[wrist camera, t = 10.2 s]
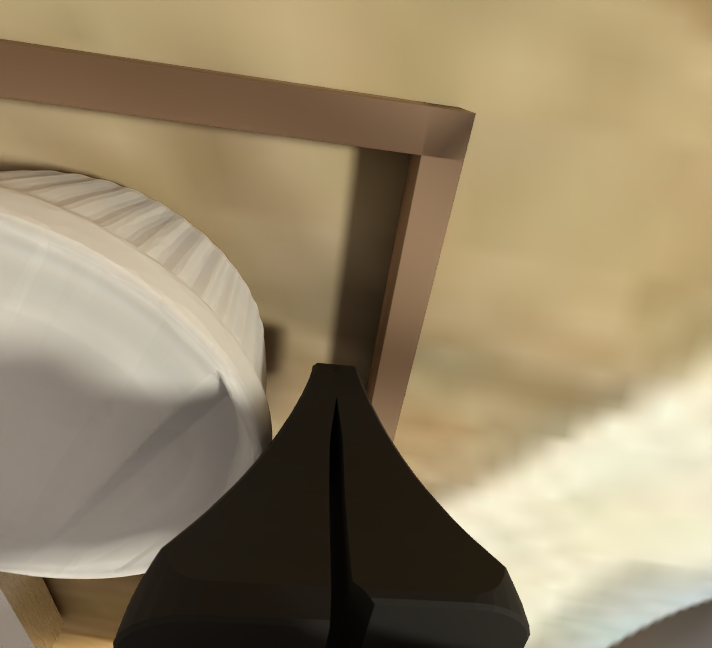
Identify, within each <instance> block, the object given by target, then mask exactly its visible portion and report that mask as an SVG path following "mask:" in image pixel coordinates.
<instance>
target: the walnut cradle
mask: <svg viewBox="0 0 712 648" xmlns="http://www.w3.org/2000/svg"><path fill="white" fill-rule="evenodd" d="M0 97H4V98H12V99H19V100H26V101H33V102H40V103H48V104H55V105H62V106H69V107H77V108H84V109H91V110H98V111H105V112H113V113H120V114H127V115H134V116H142V117H149V118H156V119H163V120H170V121H178V122H185V123H192V124H199V125H207V126H214V127H221V128H228V129H235V130H243V131H250V132H257V133H264V134H272V135H279V136H286V137H293V138H300V139H308V140H315V141H322V142H329V143H337V144H344V145H351V146H358V147H365V148H373V149H380V150H387V151H394V152H402V153H409V154H411V156H410V162H409V167H408V172H407V178H406V183H405V188H404V194H403V199H402V204H401V210H400V215H399V220H398V225H397V231H396V236H395V241H394V247H393V252H392V257H391V263H390V268H389V273H388V279H387V284H386V289H385V295H384V300H383V305H382V311H381V316H380V321H379V326H378V332H377V337H376V342H375V348H374V353H373V358H372V364H371V369H370V374H369V380H368V385H367V390H366V393H367V395H368V397H369V400H370V402H371V404H372V406H373V408H374V410H375V412H376V414H377V416H378V418H379V419H380V421H381V423H382V425H383V427H384V429H385V430H386V432H387V434H388V435H389V437H390V439H391V440H392V442H393V440H394V436H395V432H396V428H397V424H398V420H399V416H400V412H401V408H402V404H403V400H404V396H405V392H406V389H407V385H408V381H409V377H410V373H411V369H412V365H413V361H414V357H415V353H416V349H417V345H418V341H419V337H420V333H421V329H422V325H423V321H424V317H425V313H426V309H427V305H428V301H429V297H430V293H431V289H432V285H433V281H434V277H435V273H436V269H437V265H438V261H439V257H440V253H441V249H442V245H443V241H444V237H445V234H446V230H447V226H448V222H449V218H450V214H451V210H452V206H453V202H454V198H455V194H456V190H457V186H458V182H459V178H460V174H461V170H462V166H463V162H464V158H465V154H466V150H467V146H468V142H469V138H470V134H471V130H472V126H473V122H474V118H475V114H476V113H473V112H470V111H468V110H465V109H462V108H458V107H452V106H445V105H438V104H432V103H425V102H418V101H412V100H405V99H398V98H392V97H385V96H378V95H372V94H365V93H358V92H352V91H345V90H338V89H331V88H325V87H318V86H311V85H305V84H298V83H291V82H285V81H278V80H271V79H265V78H258V77H251V76H245V75H238V74H231V73H225V72H218V71H211V70H205V69H198V68H191V67H185V66H178V65H171V64H164V63H158V62H151V61H144V60H138V59H131V58H124V57H118V56H111V55H104V54H98V53H91V52H84V51H78V50H71V49H64V48H58V47H51V46H44V45H38V44H31V43H24V42H18V41H11V40H4V39H0Z"/></svg>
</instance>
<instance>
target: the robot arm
mask: <svg viewBox="0 0 712 648" xmlns="http://www.w3.org/2000/svg"><path fill="white" fill-rule="evenodd" d="M529 636H530V630H529V624H528V621H527V618H526V615H525V612H524V608H523V605H522V603H521V600H520V598H519V596H518V593H517V591H516V589H515V586H514V584H513V582H512V580H511V578H510V575H509V573H508V571H507V569H506V567H505V566H503V565H502V564H501V563H500V562H499V561H498V560H497V559H496V558H494V557H493V556H492V555H491V554H490V553H489V552H488V551H486V550H485V549H484V548H483V547H482V546H481V545H480V544H479V543H477V542H476V541H475V540H474V539H473V538H472V537H471V536H470V535H469V534H467V533H466V532H465V531H464V530H463V529H462V528H461V527H460V526H459V525H458V524H457V523H456V522H455V521H454V520H453V519H452V518H451V516H450V515H449V514H448V513H447V512H446V511H445V510H444V509H443V507H442V506H441V505H440V504H439V503H438V502H437V501H436V500H435V498H434V497H433V496H432V495H431V494H430V493H429V492H428V491H427V489H426V488H425V487H424V486H423V484H422V483H421V482H420V480H419V479H418V478H417V477H416V475H415V474H414V473H413V471H412V470H411V469H410V467H409V466H408V465H407V463H406V462H405V460H404V459H403V458H402V456H401V455H400V453H399V452H398V450H397V448H396V447H395V445H394V444H393V442H392V440H391V439H390V437H389V435H388V434H387V432H386V430H385V429H384V427H383V425H382V423H381V421H380V419H379V418H378V416H377V414H376V412H375V410H374V408H373V406H372V404H371V402H370V400H369V397H368V395H367V393H366V390H365V388H364V385H363V383H362V380H361V377H360V374H359V371H358V369H357V368H356V367H354V366H343V365H333V364H323V363H316V364H315V365H313V368H312V372H311V375H310V378H309V380H308V383H307V385H306V387H305V389H304V391H303V393H302V395H301V397H300V399H299V400H298V402H297V404H296V406H295V407H294V409H293V411H292V413H291V414H290V416H289V417H288V419H287V420H286V422H285V423H284V425H283V426H282V428H281V429H280V431H279V432H278V434H277V435H276V436H275V438H274V439H273V440H272V442H271V443H270V444H269V446H268V447H267V448H266V449H265V451H264V452H263V453H262V454H261V455H260V457H259V458H258V459H257V460H256V461H255V463H254V464H253V465H252V466H251V467H250V468H249V469H248V470H247V471H246V473H245V474H244V475H243V476H242V477H241V478H240V479H239V480H238V481H237V482H236V483H235V484H234V485H233V486H232V487H231V488H230V489H229V490H228V491H227V492H226V493H225V494H224V495H223V496H222V497H221V498H220V499H219V500H218V501H217V502H215V503H214V504H213V505H212V506H211V507H210V508H209V509H208V510H207V511H206V512H205V513H204V514H202V515H201V516H200V517H199V518H198V519H197V520H196V521H194V522H193V523H192V524H191V525H189V526H188V527H187V528H186V529H184V530H183V531H182V532H181V533H179V534H178V535H177V536H176V537H175V538H173V539H172V540H171V541H170V542H168V543H167V544H166V545H165V546H163V547H162V548H161V549H160V551H159V552H158V554H157V555H156V557H155V558H154V560H153V561H152V563H151V565H150V566H149V568H148V569H147V571H146V573H145V574H144V576H143V578H142V579H141V581H140V583H139V585H138V587H137V589H136V591H135V593H134V594H133V596H132V598H131V600H130V602H129V605H128V607H127V609H126V612H125V614H124V617H123V619H122V622H121V624H120V627H119V629H118V632H117V635H116V637H115V640H114V642H113V646H114V648H524V646H525V644H526V642H527V640H528V638H529Z"/></svg>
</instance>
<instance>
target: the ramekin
mask: <svg viewBox="0 0 712 648" xmlns="http://www.w3.org/2000/svg"><path fill="white" fill-rule="evenodd" d="M271 442H272V425H271V416H270V411H269V406H268V402H267V399H266V349H265V341H264V328H263V323H262V321H261V319H260V317H259V311H258V307H257V304H256V302H255V301H254V299H253V298H252V296H251V293H250V290H249V288H248V286H247V285H246V283H245V282H244V281H243V279H242V278H241V276H240V274H239V273H238V271H237V270H236V268H235V267H234V266H233V265H232V264H231V263H230V262H229V260H228V259H227V257H226V256H225V255H224V253H223V252H222V251H221V250H220V249H219V248H218V247H216V246H215V245H214V244H213V243H212V242H211V241H210V240H209V239H208V237H207V236H206V235H205V234H203V233H202V232H201V231H199V230H198V229H196V228H195V227H193V226H192V225H191V224H190V223H189V222H188V221H187V220H186V219H184V218H183V217H182V216H180V215H178V214H176V213H174V212H173V211H171V210H170V209H169V208H168V207H166V206H165V205H164V204H162V203H160V202H158V201H156V200H153V199H150V198H148V197H147V196H145V195H143V194H142V193H140V192H139V191H137V190H135V189H132V188H127V187H122V186H120V185H118V184H116V183H113V182H111V181H108V180H104V179H95V178H91V177H88V176H85V175H82V174H75V173H62V172H57V171H53V170H40V171H31V170H17V171H0V571H1V572H7V573H14V574H22V575H28V576H37V577H48V578H66V579H100V578H115V577H125V576H131V575H138V574H143V573H146V571H147V569H148V568H149V566H150V565H151V563H152V561H153V560H154V558H155V557H156V555H157V554H158V552H159V551H160V549H161V548H162V547H163V546H165V545H166V544H167V543H168V542H170V541H171V540H172V539H173V538H175V537H176V536H177V535H178V534H179V533H181V532H182V531H183V530H184V529H186V528H187V527H188V526H189V525H191V524H192V523H193V522H194V521H196V520H197V519H198V518H199V517H200V516H201V515H202V514H204V513H205V512H206V511H207V510H208V509H209V508H210V507H211V506H212V505H213V504H214V503H215V502H217V501H218V500H219V499H220V498H221V497H222V496H223V495H224V494H225V493H226V492H227V491H228V490H229V489H230V488H231V487H232V486H233V485H234V484H235V483H236V482H237V481H238V480H239V479H240V478H241V477H242V476H243V475H244V474H245V473H246V471H247V470H248V469H249V468H250V467H251V466H252V465H253V464H254V463H255V461H256V460H257V459H258V458H259V457H260V455H261V454H262V453H263V452H264V451H265V449H266V448H267V447H268V446H269V444H270V443H271Z"/></svg>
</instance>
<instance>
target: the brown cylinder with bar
mask: <svg viewBox="0 0 712 648" xmlns="http://www.w3.org/2000/svg"><path fill="white" fill-rule="evenodd" d="M63 625H64V622H63V620H62V618H61V616H60V614H59V612H58V609H57V607H56V605H55V603H54V601H53V599H52V597H51V595H50V593H49V591H48V588H47V586H46V584H45V582H44V580H43V578H42V577H37V576H28V575H22V574H14V573H7V572H1V571H0V647H1V648H52V647H53V645H54V643H55V641H56V639H57V637H58V635H59V633H60V631H61V629H62V627H63Z"/></svg>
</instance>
